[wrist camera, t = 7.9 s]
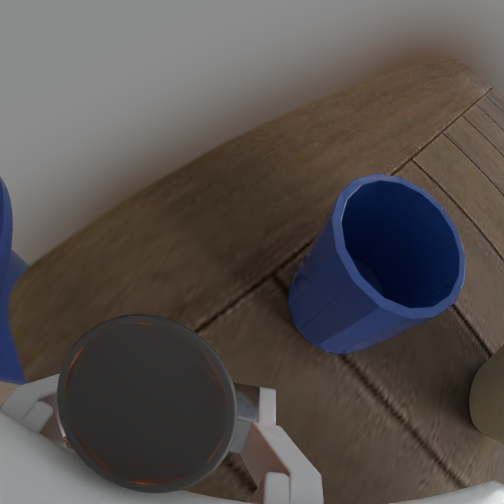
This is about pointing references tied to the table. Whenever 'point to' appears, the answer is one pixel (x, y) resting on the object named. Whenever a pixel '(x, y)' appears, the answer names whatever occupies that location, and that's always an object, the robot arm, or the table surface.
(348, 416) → the table surface
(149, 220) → the table surface
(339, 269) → the cup
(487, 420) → the plant pot
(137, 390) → the orange tube bottle
